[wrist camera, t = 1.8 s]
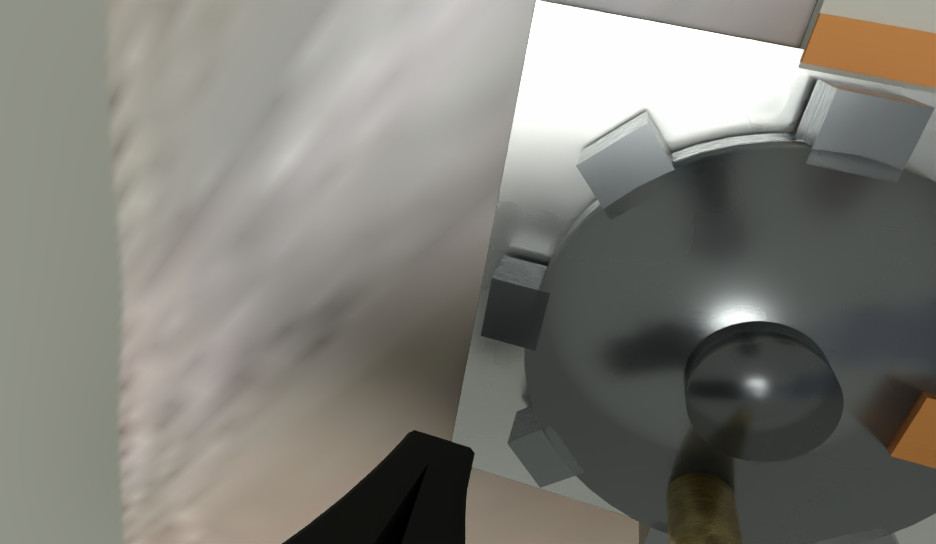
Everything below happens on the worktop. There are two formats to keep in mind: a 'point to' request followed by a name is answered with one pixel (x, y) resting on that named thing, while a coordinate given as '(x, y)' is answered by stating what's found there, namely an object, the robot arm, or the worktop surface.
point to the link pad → (874, 41)
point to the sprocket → (740, 331)
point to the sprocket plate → (591, 118)
